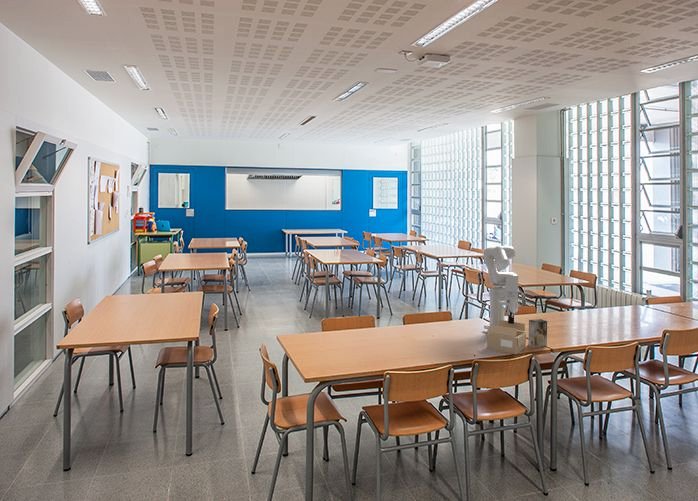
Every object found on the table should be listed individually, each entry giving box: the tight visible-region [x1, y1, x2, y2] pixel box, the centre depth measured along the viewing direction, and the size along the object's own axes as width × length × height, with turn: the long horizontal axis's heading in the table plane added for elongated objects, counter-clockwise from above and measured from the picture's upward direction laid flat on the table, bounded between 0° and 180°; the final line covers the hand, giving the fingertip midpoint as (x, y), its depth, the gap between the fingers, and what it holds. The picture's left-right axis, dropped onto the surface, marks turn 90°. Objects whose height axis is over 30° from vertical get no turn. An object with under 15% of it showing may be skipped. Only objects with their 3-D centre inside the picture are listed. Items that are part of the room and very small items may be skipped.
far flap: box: [499, 319, 526, 332], centre depth 310 cm, size 16×5×1 cm
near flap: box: [489, 324, 518, 337], centre depth 298 cm, size 16×5×1 cm
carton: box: [486, 330, 527, 355], centre depth 304 cm, size 19×16×10 cm
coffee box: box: [527, 318, 548, 348], centre depth 310 cm, size 9×6×16 cm
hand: (511, 323), depth 308 cm, fingers closed
